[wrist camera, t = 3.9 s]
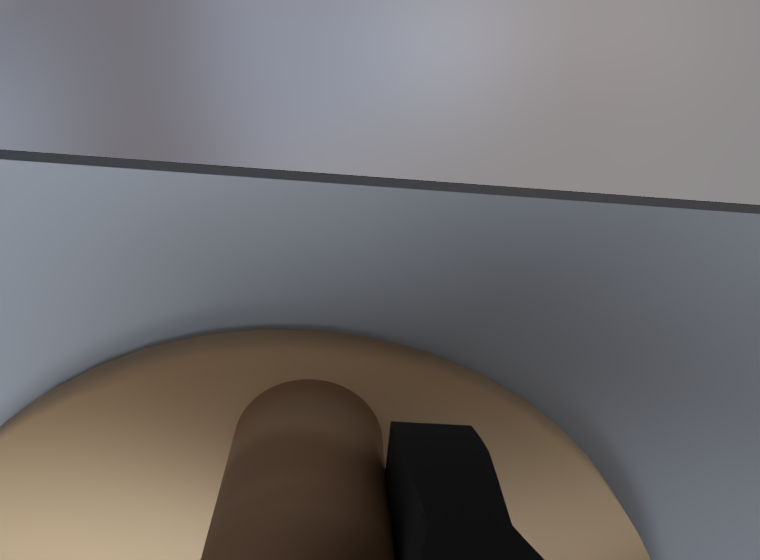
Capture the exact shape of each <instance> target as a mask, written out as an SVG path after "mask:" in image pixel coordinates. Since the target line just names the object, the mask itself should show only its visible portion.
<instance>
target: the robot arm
mask: <svg viewBox="0 0 760 560" xmlns="http://www.w3.org/2000/svg"><path fill="white" fill-rule="evenodd" d="M385 474H386V483H387V493H388V503H389V512H390V520H391V527H392V537H393V546H394V556H395V560H544V559H543V558H542V556H541V555H540V554H539V553H538V552H537V551H536V550H535V549H534V548H533V547H532V546H531V545H530V544H529V543H528V542H527V541H526V540H525V539H524V538H523V536H522V535H521V534H520V533H519V532H518V531H517V530H516V529H515V527H514V526H513V525H512V523H511V520H510V516H509V513H508V510H507V507H506V503H505V500H504V497H503V493H502V490H501V487H500V484H499V480H498V477H497V474H496V471H495V468H494V465H493V462H492V459H491V456H490V453H489V450H488V449H487V447H486V445H485V444H484V442H483V441H482V439H481V437H480V436H479V435H478V433H477V432H476V431H475V430H474V428H473V427H472V426H471V425H452V424H433V423H414V422H394V421H391V424H390V432H389V441H388V449H387V458H386V466H385Z"/></svg>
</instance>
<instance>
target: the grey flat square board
mask: <svg viewBox="0 0 760 560" xmlns="http://www.w3.org/2000/svg"><path fill="white" fill-rule="evenodd" d="M259 329H273V330H320V331H327V332H335V333H342V334H349V335H356V336H364V337H371V338H376V339H380V340H384V341H388V342H392V343H395V344H399V345H403V346H407V347H411V348H414V349H418V350H422V351H426V352H429V353H431V354H434V355H436V356H439V357H441V358H444V359H446V360H449V361H451V362H454V363H456V364H459V365H461V366H464V367H466V368H469V369H471V370H473V371H476V372H478V373H480V374H481V375H483V376H485V377H487V378H489V379H490V380H492V381H494V382H496V383H497V384H499V385H501V386H503V387H504V388H506V389H508V390H510V391H512V392H513V393H515V394H517V395H519V396H520V397H522V398H523V399H524V400H526V401H527V402H528V403H529V404H531V405H532V406H533V407H535V408H536V409H537V410H539V411H540V412H541V413H543V414H544V415H545V416H546V417H548V418H549V419H550V420H552V421H553V422H554V423H556V424H557V425H558V426H559V427H560V428H561V429H562V430H563V431H564V432H565V433H566V434H567V435H568V436H569V437H570V438H571V439H572V440H573V441H574V442H575V443H576V445H577V446H578V447H579V448H580V449H581V450H582V451H583V452H584V453H585V454H586V455H587V456H588V457H589V458H590V460H591V461H592V463H593V464H594V465H595V467H596V468H597V470H598V471H599V472H600V474H601V475H602V477H603V478H604V480H605V481H606V482H607V484H608V485H609V487H610V488H611V490H612V491H613V493H614V494H615V496H616V498H617V499H618V501H619V503H620V504H621V506H622V508H623V509H624V511H625V513H626V514H627V516H628V517H629V519H630V521H631V522H632V524H633V526H634V527H635V529H636V531H637V532H638V534H639V536H640V538H641V540H642V542H643V544H644V547H645V549H646V551H647V553H648V555H649V557H650V559H651V560H760V205H750V204H736V203H722V202H709V201H695V200H680V199H668V198H654V197H639V196H627V195H613V194H599V193H585V192H572V191H558V190H544V189H529V188H517V187H504V186H489V185H476V184H463V183H448V182H436V181H421V180H408V179H394V178H380V177H366V176H353V175H339V174H326V173H313V172H299V171H285V170H271V169H258V168H243V167H231V166H217V165H203V164H190V163H175V162H162V161H149V160H135V159H121V158H108V157H94V156H80V155H67V154H53V153H39V152H26V151H11V150H0V427H1V426H2V425H3V424H4V423H5V422H6V421H7V420H9V419H10V418H11V417H13V416H14V415H16V414H17V413H18V412H20V411H21V410H23V409H24V408H25V407H27V406H28V405H30V404H31V403H32V402H34V401H35V400H37V399H38V398H39V397H41V396H42V395H44V394H45V393H46V392H48V391H50V390H52V389H54V388H55V387H57V386H59V385H61V384H63V383H65V382H67V381H69V380H71V379H73V378H75V377H77V376H79V375H80V374H82V373H84V372H86V371H88V370H90V369H92V368H94V367H96V366H99V365H102V364H104V363H107V362H110V361H113V360H115V359H118V358H121V357H124V356H126V355H129V354H132V353H135V352H137V351H140V350H143V349H146V348H149V347H153V346H158V345H162V344H166V343H171V342H175V341H180V340H184V339H189V338H193V337H197V336H202V335H210V334H219V333H229V332H239V331H249V330H259Z"/></svg>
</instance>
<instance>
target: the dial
mask: <svg viewBox="0 0 760 560" xmlns="http://www.w3.org/2000/svg"><path fill="white" fill-rule="evenodd" d="M391 421H394V422H414V423H433V424H452V425H471V426H472V427H473V428H474V430H475V431H476V432H477V433H478V435H479V436H480V437H481V439H482V441H483V442H484V444H485V445H486V447H487V449H488V450H489V453H490V456H491V459H492V462H493V465H494V468H495V471H496V474H497V477H498V480H499V484H500V487H501V490H502V493H503V497H504V500H505V503H506V507H507V510H508V513H509V516H510V520H511V523H512V525H513V526H514V527H515V529H516V530H517V531H518V532H519V533H520V534H521V535H522V536H523V538H524V539H525V540H526V541H527V542H528V543H529V544H530V545H531V546H532V547H533V548H534V549H535V550H536V551H537V552H538V553H539V554H540V555H541V556H542V558H543V559H544V560H651V559H650V557H649V555H648V553H647V551H646V549H645V547H644V544H643V542H642V540H641V538H640V536H639V534H638V532H637V531H636V529H635V527H634V526H633V524H632V522H631V521H630V519H629V517H628V516H627V514H626V513H625V511H624V509H623V508H622V506H621V504H620V503H619V501H618V499H617V498H616V496H615V494H614V493H613V491H612V490H611V488H610V487H609V485H608V484H607V482H606V481H605V480H604V478H603V477H602V475H601V474H600V472H599V471H598V470H597V468H596V467H595V465H594V464H593V463H592V461H591V460H590V458H589V457H588V456H587V455H586V454H585V453H584V452H583V451H582V450H581V449H580V448H579V447H578V446H577V445H576V443H575V442H574V441H573V440H572V439H571V438H570V437H569V436H568V435H567V434H566V433H565V432H564V431H563V430H562V429H561V428H560V427H559V426H558V425H557V424H556V423H554V422H553V421H552V420H550V419H549V418H548V417H546V416H545V415H544V414H543V413H541V412H540V411H539V410H537V409H536V408H535V407H533V406H532V405H531V404H529V403H528V402H527V401H526V400H524V399H523V398H522V397H520V396H519V395H517V394H515V393H513V392H512V391H510V390H508V389H506V388H504V387H503V386H501V385H499V384H497V383H496V382H494V381H492V380H490V379H489V378H487V377H485V376H483V375H481V374H480V373H478V372H476V371H473V370H471V369H469V368H466V367H464V366H461V365H459V364H456V363H454V362H451V361H449V360H446V359H444V358H441V357H439V356H436V355H434V354H431V353H429V352H426V351H422V350H418V349H414V348H411V347H407V346H403V345H399V344H395V343H392V342H388V341H384V340H380V339H376V338H371V337H364V336H356V335H349V334H342V333H335V332H327V331H320V330H273V329H259V330H249V331H239V332H229V333H219V334H210V335H202V336H197V337H193V338H189V339H184V340H180V341H175V342H171V343H166V344H162V345H158V346H153V347H149V348H146V349H143V350H140V351H137V352H135V353H132V354H129V355H126V356H124V357H121V358H118V359H115V360H113V361H110V362H107V363H104V364H102V365H99V366H96V367H94V368H92V369H90V370H88V371H86V372H84V373H82V374H80V375H79V376H77V377H75V378H73V379H71V380H69V381H67V382H65V383H63V384H61V385H59V386H57V387H55V388H54V389H52V390H50V391H48V392H46V393H45V394H44V395H42V396H41V397H39V398H38V399H37V400H35V401H34V402H32V403H31V404H30V405H28V406H27V407H25V408H24V409H23V410H21V411H20V412H18V413H17V414H16V415H14V416H13V417H11V418H10V419H9V420H7V421H6V422H5V423H4V424H3V425H2V426H1V427H0V560H395V556H394V546H393V537H392V527H391V520H390V512H389V503H388V493H387V483H386V474H385V466H386V458H387V449H388V441H389V432H390V424H391Z"/></svg>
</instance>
